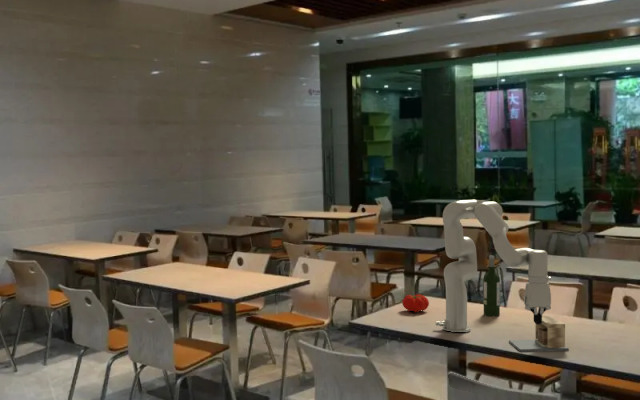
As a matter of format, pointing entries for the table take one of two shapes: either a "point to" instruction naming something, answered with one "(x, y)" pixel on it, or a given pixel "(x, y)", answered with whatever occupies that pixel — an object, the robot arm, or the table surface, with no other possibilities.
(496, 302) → the wine bottle
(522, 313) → the table surface
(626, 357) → the table surface
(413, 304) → the tomato
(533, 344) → the board
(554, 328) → the tan wooden block
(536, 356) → the table surface
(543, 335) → the brown wooden cube
